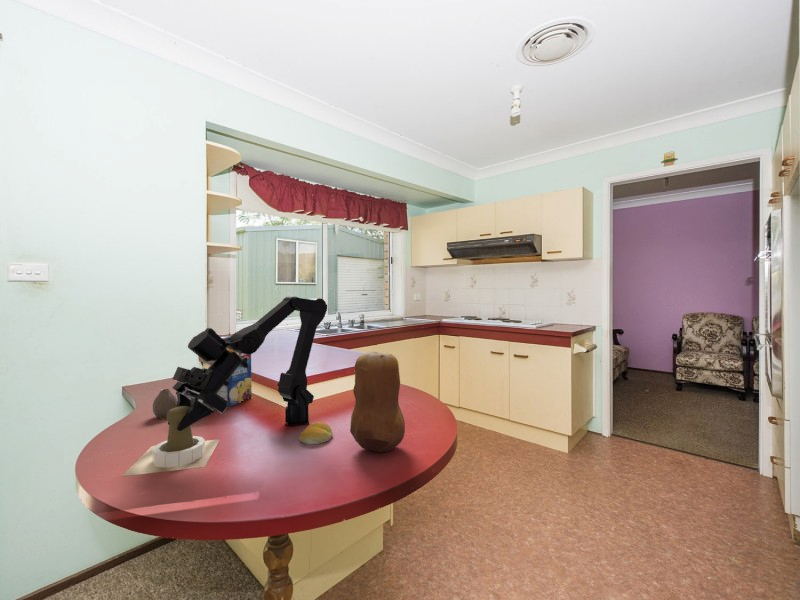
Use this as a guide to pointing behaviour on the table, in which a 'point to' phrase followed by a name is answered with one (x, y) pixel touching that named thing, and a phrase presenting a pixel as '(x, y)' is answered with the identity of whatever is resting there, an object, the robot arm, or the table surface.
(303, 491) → the table surface
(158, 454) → the cream collar
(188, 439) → the cork
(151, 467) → the oak board
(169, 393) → the brown fig
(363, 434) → the butternut squash
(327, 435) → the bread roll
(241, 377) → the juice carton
